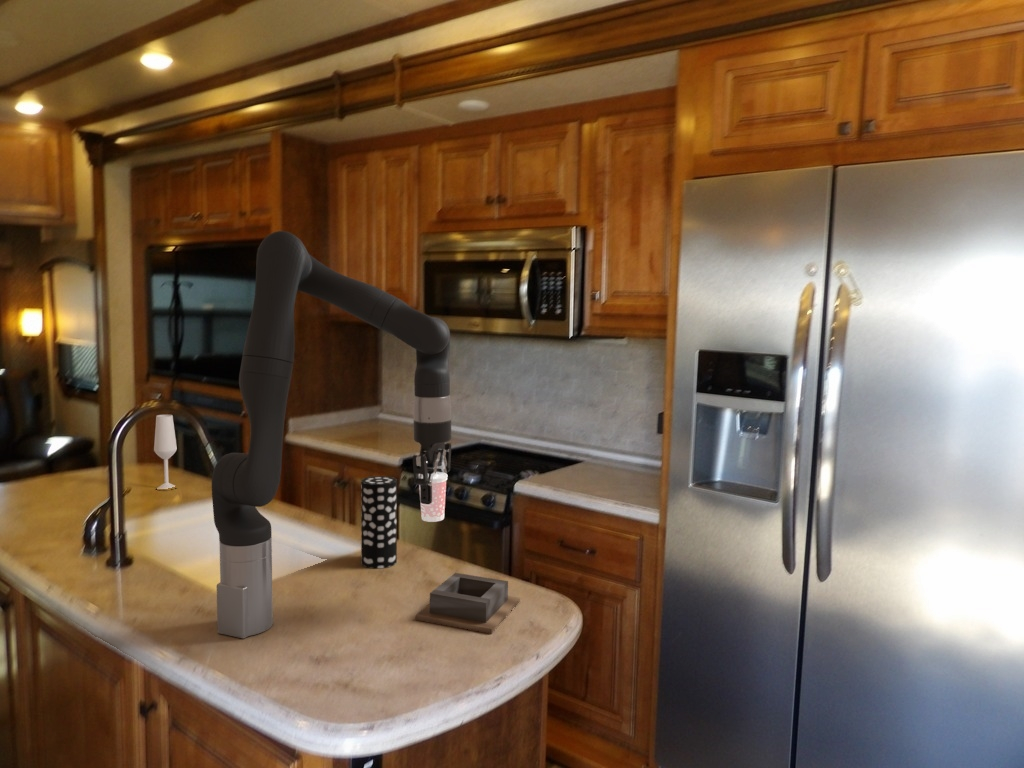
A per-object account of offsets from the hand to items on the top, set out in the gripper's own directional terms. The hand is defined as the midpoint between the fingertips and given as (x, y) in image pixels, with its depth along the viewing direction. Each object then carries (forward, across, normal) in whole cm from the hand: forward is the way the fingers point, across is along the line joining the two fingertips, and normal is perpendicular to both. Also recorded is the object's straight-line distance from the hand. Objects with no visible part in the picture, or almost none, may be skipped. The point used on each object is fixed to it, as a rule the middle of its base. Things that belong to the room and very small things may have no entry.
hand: (433, 498), depth 148 cm
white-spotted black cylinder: (+23, +18, +22) cm, 36 cm away
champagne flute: (+23, +54, +119) cm, 132 cm away
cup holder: (+22, -1, -8) cm, 24 cm away
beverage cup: (+4, 0, 0) cm, 4 cm away
